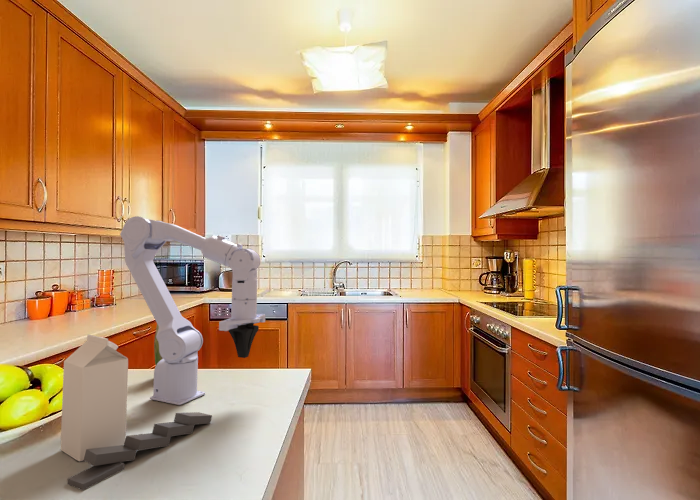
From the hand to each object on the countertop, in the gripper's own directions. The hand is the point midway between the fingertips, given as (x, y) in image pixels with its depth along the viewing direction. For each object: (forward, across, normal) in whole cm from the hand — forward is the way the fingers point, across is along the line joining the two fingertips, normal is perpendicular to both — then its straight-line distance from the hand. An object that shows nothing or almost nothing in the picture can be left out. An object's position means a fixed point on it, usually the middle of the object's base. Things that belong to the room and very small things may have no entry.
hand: (243, 356), depth 88 cm
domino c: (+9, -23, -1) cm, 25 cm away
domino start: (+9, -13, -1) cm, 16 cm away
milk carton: (+10, -29, +8) cm, 32 cm away
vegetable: (+10, +5, +30) cm, 32 cm away
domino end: (+10, -31, -1) cm, 33 cm away
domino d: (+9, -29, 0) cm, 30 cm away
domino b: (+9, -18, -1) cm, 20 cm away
